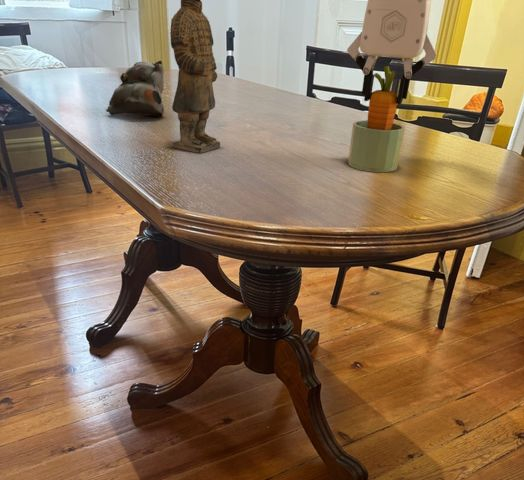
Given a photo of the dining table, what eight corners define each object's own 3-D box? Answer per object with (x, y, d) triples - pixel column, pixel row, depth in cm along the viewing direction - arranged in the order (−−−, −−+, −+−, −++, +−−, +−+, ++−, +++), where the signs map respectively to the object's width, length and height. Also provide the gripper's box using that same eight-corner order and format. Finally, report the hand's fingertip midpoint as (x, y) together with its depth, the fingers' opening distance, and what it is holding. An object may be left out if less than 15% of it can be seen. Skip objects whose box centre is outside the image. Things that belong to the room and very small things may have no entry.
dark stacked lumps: (97, 113, 123) (104, 53, 122) (141, 130, 132) (148, 74, 131) (128, 102, 113) (136, 37, 112) (174, 122, 121) (182, 61, 120)
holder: (399, 163, 98) (407, 123, 94) (393, 174, 91) (401, 132, 87) (353, 157, 100) (358, 118, 96) (343, 168, 93) (349, 126, 89)
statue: (196, 155, 95) (191, -48, 79) (164, 148, 99) (153, -49, 82) (228, 145, 103) (229, -42, 86) (197, 139, 106) (193, -43, 89)
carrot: (382, 163, 92) (398, 69, 84) (356, 159, 94) (369, 66, 85) (390, 158, 96) (407, 67, 87) (365, 154, 98) (379, 64, 89)
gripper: (345, -32, 78) (330, 99, 89) (460, -27, 74) (431, 110, 84) (354, -28, 84) (339, 94, 94) (461, -24, 80) (434, 103, 90)
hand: (383, 100), depth 89 cm, fingers closed on carrot, 4 cm apart
